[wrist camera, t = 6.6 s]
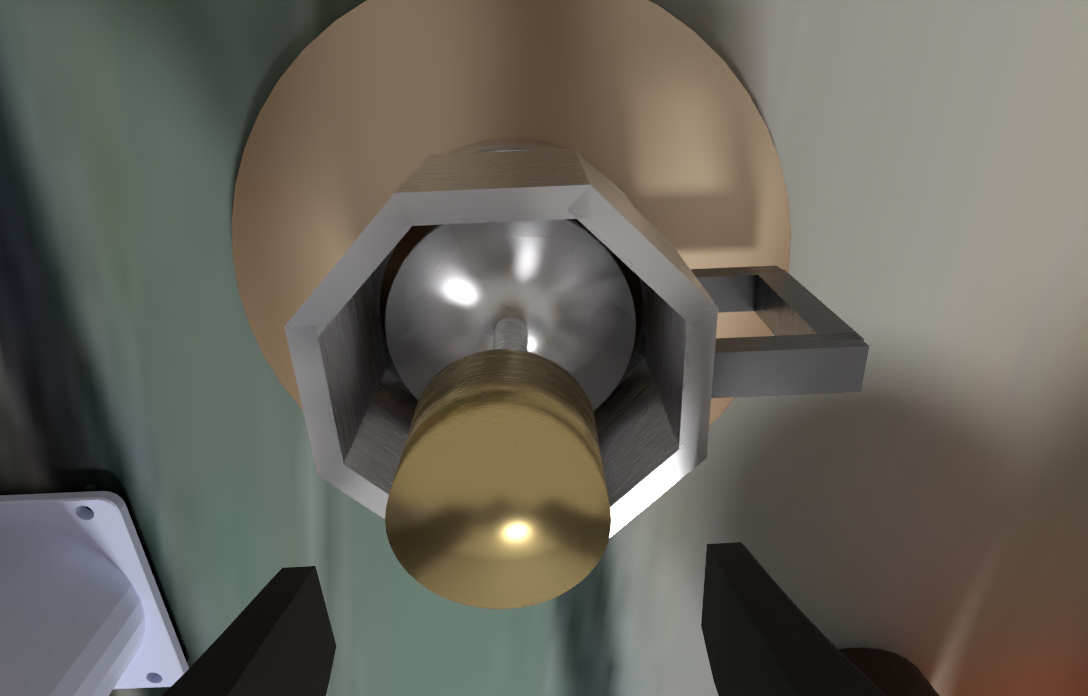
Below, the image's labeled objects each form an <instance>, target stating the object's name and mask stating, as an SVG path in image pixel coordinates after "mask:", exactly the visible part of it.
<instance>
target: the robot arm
mask: <svg viewBox="0 0 1088 696" xmlns="http://www.w3.org/2000/svg"><path fill="white" fill-rule="evenodd" d="M85 506H87V507H89V508H90V509H92V511H91V510H89V509H87V508H86V507H85ZM701 626H702V631H703V635H704V640H705V644H706V649H707V653H708V658H709V662H710V666H711V670H712V675H713V679H714V683H715V686H716V689H717V692H718V695H719V696H886V695H885V694H884V693H883V692H882V691H881V690H880V689H879V688H878V687H877V686H876V685H874V684H873V683H872V682H871V681H870V680H869V679H868V678H867V677H866V676H865V675H864V674H863V673H862V672H861V671H860V670H859V669H857V668H856V667H855V666H854V665H853V664H852V663H851V662H850V661H849V660H848V659H847V658H846V657H845V656H844V655H843V654H842V653H841V652H840V651H839V650H838V649H837V648H836V647H835V646H834V645H833V644H832V643H831V642H830V641H829V640H828V639H827V638H826V637H825V636H824V635H823V634H822V633H821V632H820V631H819V629H818V628H817V627H816V626H815V625H814V624H813V623H812V622H811V621H810V620H809V619H808V618H807V617H806V616H805V615H804V614H803V613H802V612H801V610H800V609H799V608H798V607H797V606H796V605H795V604H794V603H793V602H792V601H791V599H790V598H789V597H788V596H787V595H786V594H785V593H784V592H783V590H782V589H781V588H780V587H779V586H778V585H777V584H776V582H775V581H774V580H773V579H772V578H771V577H770V576H769V574H768V573H767V572H766V571H765V570H764V568H763V567H762V566H761V565H760V564H759V563H758V561H757V560H756V559H755V558H754V557H753V555H752V554H751V553H750V552H749V551H748V549H747V548H746V547H745V546H744V545H743V544H742V543H740V542H739V543H721V544H707V553H706V567H705V581H704V595H703V609H702V624H701ZM335 649H336V644H335V640H334V636H333V632H332V628H331V624H330V621H329V617H328V613H327V609H326V605H325V601H324V597H323V594H322V590H321V586H320V582H319V578H318V574H317V571H316V567H315V566H310V567H292V568H282V569H281V570H280V571H279V572H278V573H277V574H276V575H275V576H274V578H273V579H272V580H271V581H270V582H269V583H268V584H267V585H266V586H265V587H264V588H263V589H262V590H261V592H260V593H259V594H258V595H257V596H256V597H255V598H254V599H253V600H252V601H251V603H250V604H249V605H248V606H247V607H246V608H245V609H244V610H243V611H242V612H241V614H240V615H239V616H238V617H237V618H236V619H235V620H234V621H233V622H232V623H231V625H230V626H229V627H228V628H227V629H226V630H225V631H224V632H223V633H222V634H221V635H220V636H219V637H218V639H217V640H216V641H215V642H214V643H213V644H212V645H211V646H210V647H209V648H208V649H207V650H206V651H205V652H204V653H203V654H202V655H201V657H200V658H199V659H198V660H197V661H196V662H195V663H194V664H193V665H192V666H191V667H190V668H189V667H188V665H187V662H186V659H185V657H184V654H183V652H182V649H181V646H180V644H179V641H178V639H177V636H176V634H175V631H174V628H173V626H172V623H171V621H170V618H169V615H168V613H167V610H166V608H165V605H164V602H163V600H162V597H161V595H160V592H159V589H158V587H157V584H156V582H155V579H154V576H153V574H152V571H151V569H150V566H149V564H148V561H147V558H146V556H145V553H144V551H143V548H142V545H141V543H140V540H139V538H138V535H137V532H136V530H135V527H134V525H133V522H132V519H131V517H130V514H129V512H128V509H127V507H126V504H125V502H124V501H123V499H122V498H121V497H120V496H118V495H117V494H115V493H112V492H108V491H91V492H68V493H45V494H23V495H0V696H109V694H110V693H111V691H112V690H113V689H126V688H148V687H170V686H171V687H170V688H169V689H168V690H167V691H166V692H165V693H164V694H163V695H162V696H326V693H327V688H328V684H329V679H330V674H331V669H332V664H333V659H334V654H335Z"/></svg>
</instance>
